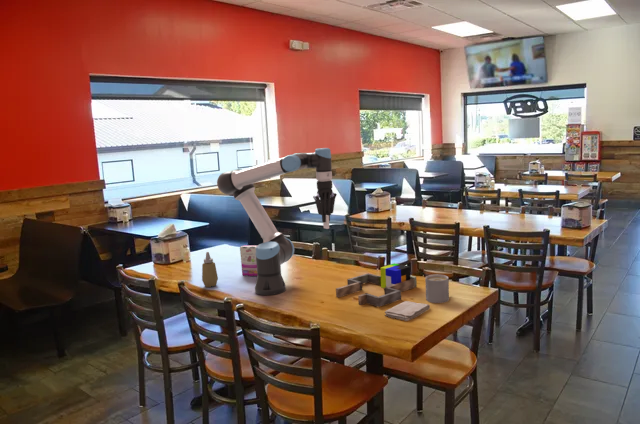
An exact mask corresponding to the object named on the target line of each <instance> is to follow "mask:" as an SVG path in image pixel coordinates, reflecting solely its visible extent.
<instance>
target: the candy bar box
mask: <svg viewBox="0 0 640 424" xmlns="http://www.w3.org/2000/svg"><path fill="white" fill-rule="evenodd" d="M257 246H258V245H255V244H254V245H249V244H248V245H247V244H246V245H245V244H244V245H241V246H240V247H239V252H240V253H239V254H240V263H241V265H240V266H241V274H242V275H243V277H257V264H256V255H255V253H256V247H257ZM242 275H241V276H242Z"/></svg>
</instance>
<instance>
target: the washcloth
mask: <svg viewBox="0 0 640 424" xmlns="http://www.w3.org/2000/svg"><path fill="white" fill-rule="evenodd" d="M428 310H430V304H426V303H422V302H419V303H417V302H414V301H409V300H405V301H403V302H401V303H398V304H397V305H394V306H393V307H390V308H389V309H386V310H385V311H384V313H385V315H384V316H385V317H387V316H388V317H387V318H390V317H391V318H390V319H395V318H396V319H395V320H399V319H400V321H403V320H404V322H408V321H411V320H412V319H415V318H417V317H419V316H420V315H421V314H423V313H425V312H428Z"/></svg>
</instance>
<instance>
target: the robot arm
mask: <svg viewBox="0 0 640 424" xmlns="http://www.w3.org/2000/svg"><path fill="white" fill-rule="evenodd" d="M331 151H332V150H331V149H330V147H322V148H321V147H320V148H319V147H318V148H315V149H314V152H297V153H296V152H294V153H293V154H288V155H286V156H284V157H280V158H277V159H274V160H271V161H268V162H265V163H261V164H259V165H256V166H251V167H249V168H245V169H240V168H239V169H237V168H236V169H233V170H228V171H224V172H222V173H221V174H220V175H219V176H218V178H217V180H216V186H217V188H218V190H219V191H220V192H221V193H222V194H225V195H232V196H233V198H234V200H235V201H239V202H240V203H241V205H242V207H243V209H244V210H245V212H246V214H247V216H248V217H249V218H250V220H251V222H252V223H253V225H254V227H255V229H256V230H257V232H258V234H259V235H260V238H262V240H263V242H262V243H259V244H258V245H256V246H257V247H256V253H255V255H256V264H257V276H256V277H257V278H256V281H255V285H254V292H255V293H256V294H257V295H260V296H273V295H278V294H282V293H284V292H285V291H286V289H287V287H286V282H285V281H284V277H283V276H282V265H283V264H285V263H287V262H288V261H289V260H291V259H292V257H293V256H294V254H295V246H294V243H293V241H291V240H290V238H287V237H285V235H284V234H283V232H279V231H278V229H277V228H276V226H275V225H274V222H273V221H272V219H271V218H270V216H269V214H268V213H267V211H266V210H265V208H264V206H263V205H262V203H261V201H260V200H259V198H258V196H257V195H256V193H255V189H256V187H255V186H254V184H256V183H259V182H262V181H266V180H268V179H272V178H275V177H279V176H282V175H285V174H288V173H293V172H296V171H299V170H305V169H315V175H316V179H315V180H316V189H317V191H316V194H315V195H312V196H313V197H312V198H313V199H314V201H315V206H316V210H317V213H318V215H320V216H321V221H322V222H323V223H322V225H323V229H326V230H328V229H330V222H331V215H332V214H333V213H334V209H335V203H336V197H337V193H335V192H334V191H333V181H332V179H333V173H332V171H333V169H332V153H331Z"/></svg>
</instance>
